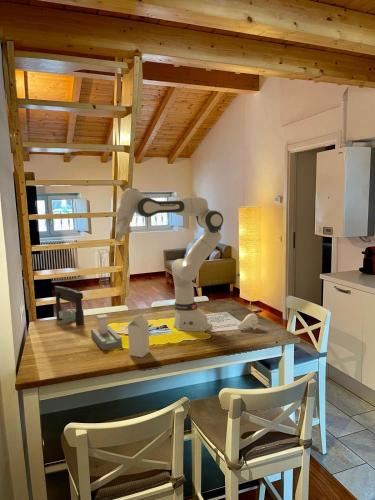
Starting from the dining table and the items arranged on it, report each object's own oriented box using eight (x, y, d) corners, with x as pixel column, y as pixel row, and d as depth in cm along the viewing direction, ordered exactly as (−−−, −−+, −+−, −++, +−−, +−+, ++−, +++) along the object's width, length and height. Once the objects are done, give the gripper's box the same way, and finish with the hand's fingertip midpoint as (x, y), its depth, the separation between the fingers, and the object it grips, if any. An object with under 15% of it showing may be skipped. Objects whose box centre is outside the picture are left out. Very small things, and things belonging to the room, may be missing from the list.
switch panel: (91, 336, 196) (90, 329, 196) (109, 333, 201) (108, 325, 200) (102, 350, 177) (102, 341, 177) (122, 346, 182) (121, 337, 181)
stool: (65, 282, 240) (93, 289, 218) (67, 313, 242) (95, 322, 221) (43, 287, 228) (70, 294, 206) (45, 318, 231) (72, 329, 209)
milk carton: (149, 352, 174) (148, 314, 171) (141, 357, 167) (140, 318, 165) (137, 349, 177) (135, 312, 174) (129, 355, 170) (127, 317, 168)
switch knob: (97, 332, 194) (96, 315, 193) (106, 330, 196) (105, 314, 195) (100, 334, 190) (99, 317, 189) (108, 332, 192) (107, 316, 191)
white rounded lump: (258, 314, 200) (240, 319, 196) (260, 328, 201) (241, 334, 197) (252, 311, 206) (234, 316, 202) (254, 325, 207) (236, 330, 203)
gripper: (133, 219, 185) (125, 244, 185) (127, 218, 204) (120, 241, 204) (121, 215, 183) (113, 241, 183) (116, 214, 202) (109, 238, 202)
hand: (117, 241), depth 194 cm, fingers open, 8 cm apart
